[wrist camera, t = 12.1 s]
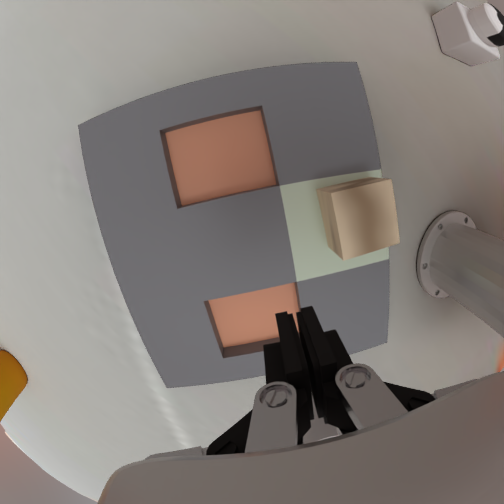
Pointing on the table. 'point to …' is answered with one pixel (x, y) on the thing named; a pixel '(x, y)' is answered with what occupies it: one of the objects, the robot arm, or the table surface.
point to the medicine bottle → (470, 32)
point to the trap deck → (236, 215)
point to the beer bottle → (10, 381)
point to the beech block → (359, 216)
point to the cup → (319, 429)
